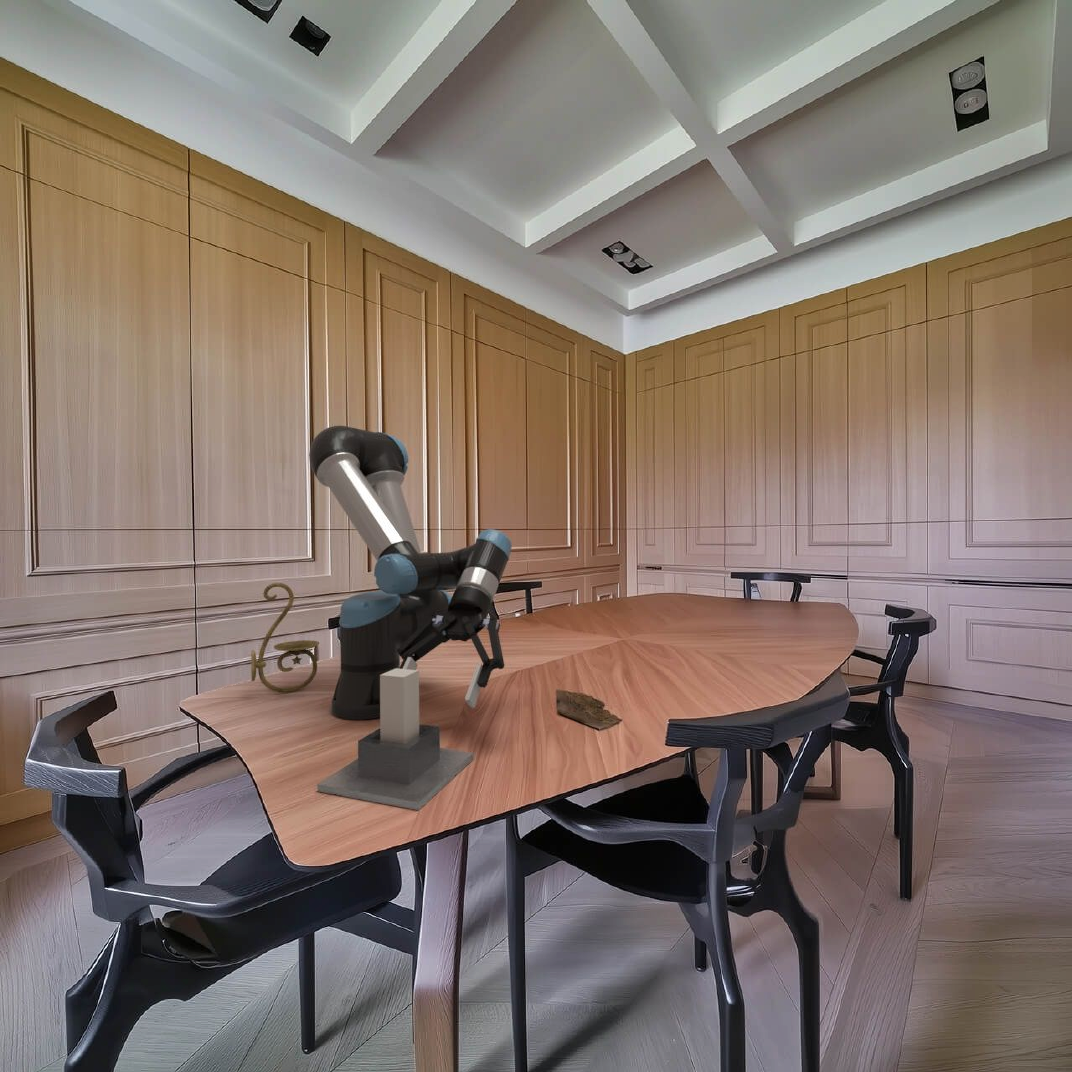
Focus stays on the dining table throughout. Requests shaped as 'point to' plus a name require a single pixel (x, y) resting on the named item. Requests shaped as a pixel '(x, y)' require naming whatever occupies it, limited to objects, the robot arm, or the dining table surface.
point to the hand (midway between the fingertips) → (432, 699)
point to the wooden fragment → (585, 709)
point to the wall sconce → (283, 648)
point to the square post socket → (398, 770)
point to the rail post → (399, 705)
